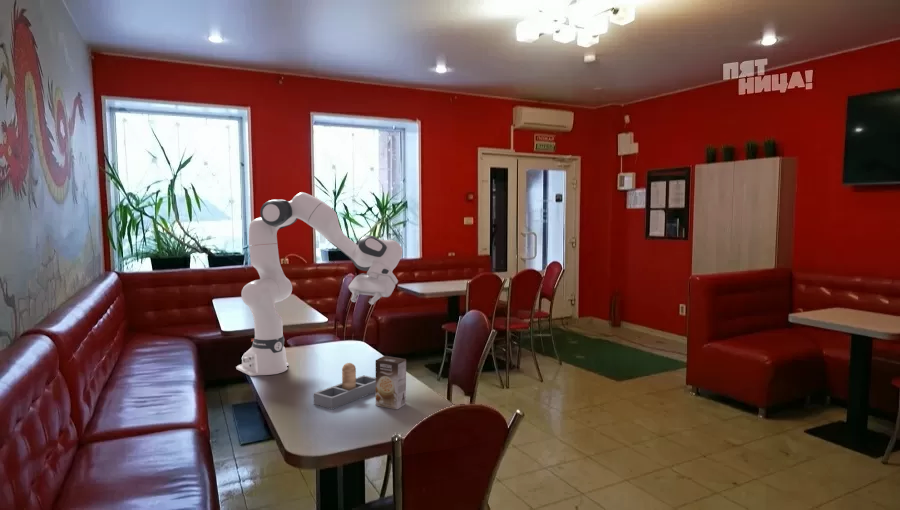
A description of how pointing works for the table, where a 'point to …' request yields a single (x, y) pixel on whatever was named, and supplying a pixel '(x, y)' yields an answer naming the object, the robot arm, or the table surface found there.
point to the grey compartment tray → (345, 393)
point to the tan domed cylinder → (348, 376)
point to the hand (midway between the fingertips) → (361, 302)
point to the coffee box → (390, 382)
